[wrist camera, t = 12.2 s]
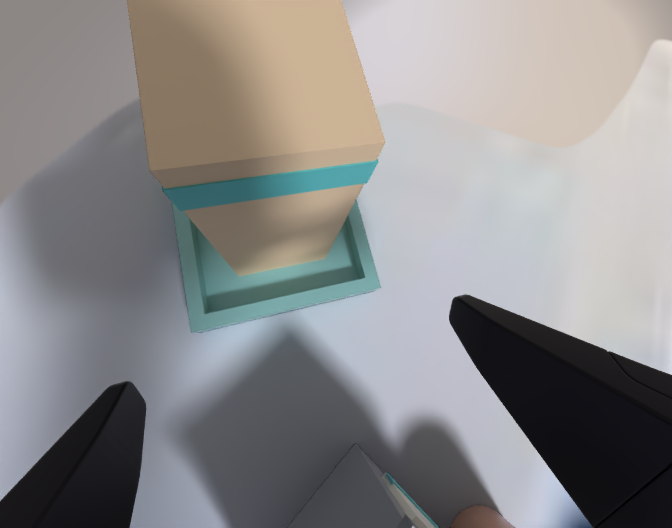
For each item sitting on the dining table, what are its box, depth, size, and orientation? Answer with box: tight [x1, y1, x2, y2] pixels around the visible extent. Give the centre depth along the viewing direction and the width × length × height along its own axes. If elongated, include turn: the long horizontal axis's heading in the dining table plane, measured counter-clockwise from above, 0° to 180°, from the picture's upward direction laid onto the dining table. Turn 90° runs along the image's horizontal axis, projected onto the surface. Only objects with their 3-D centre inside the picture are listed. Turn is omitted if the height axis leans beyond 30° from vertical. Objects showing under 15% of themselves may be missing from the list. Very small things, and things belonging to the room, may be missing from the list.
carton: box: [127, 0, 385, 276], centre depth 13 cm, size 6×6×12 cm
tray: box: [172, 200, 381, 333], centre depth 19 cm, size 11×11×2 cm
